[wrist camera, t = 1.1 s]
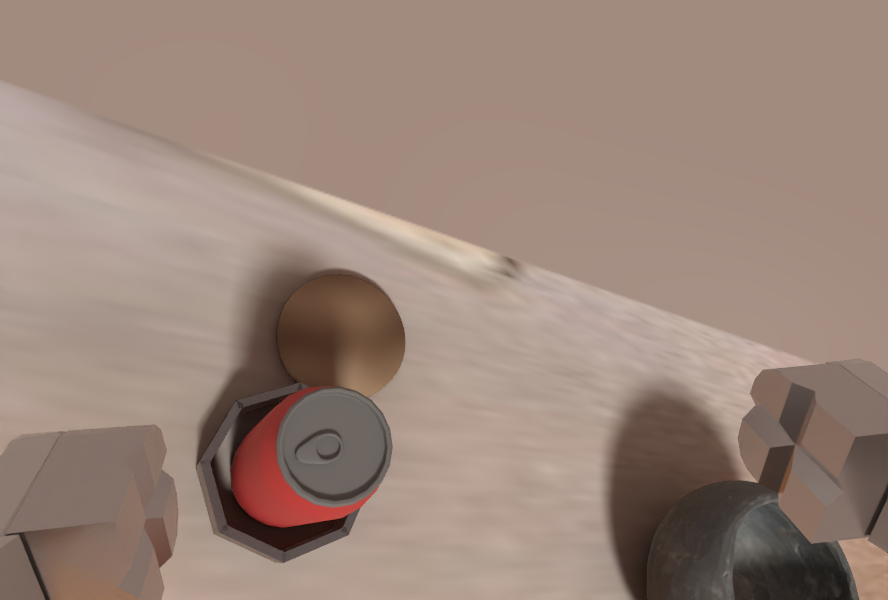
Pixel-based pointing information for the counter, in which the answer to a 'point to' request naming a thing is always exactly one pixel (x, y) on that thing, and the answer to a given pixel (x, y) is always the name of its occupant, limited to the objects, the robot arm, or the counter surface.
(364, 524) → the counter surface
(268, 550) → the can collar
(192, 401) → the counter surface
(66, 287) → the counter surface
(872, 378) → the robot arm
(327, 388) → the beer can
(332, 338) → the walnut coaster
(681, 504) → the bowl
